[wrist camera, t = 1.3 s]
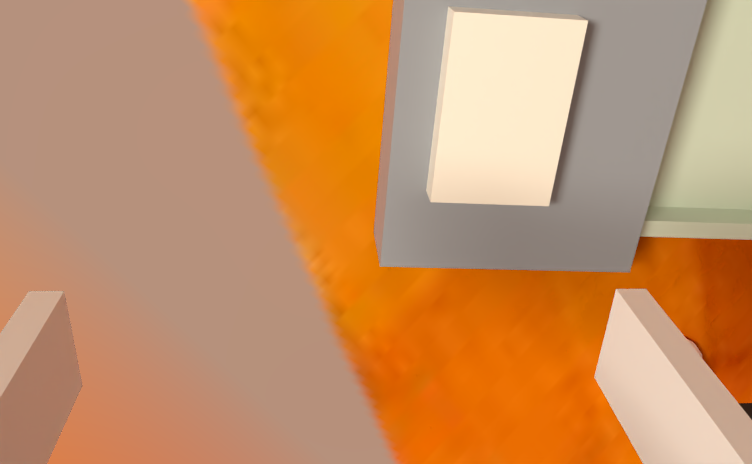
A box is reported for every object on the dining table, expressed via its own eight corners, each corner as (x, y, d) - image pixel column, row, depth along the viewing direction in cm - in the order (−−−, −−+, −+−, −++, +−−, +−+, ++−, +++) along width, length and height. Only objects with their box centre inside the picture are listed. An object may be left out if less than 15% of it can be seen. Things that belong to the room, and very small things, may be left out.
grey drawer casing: (402, -111, 32) (414, -110, 28) (686, -87, 33) (730, -83, 30) (373, 232, 40) (380, 266, 36) (602, 238, 41) (629, 272, 38)
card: (448, 6, 30) (454, 11, 29) (577, 14, 31) (588, 20, 30) (426, 190, 34) (430, 202, 33) (540, 194, 35) (549, 206, 34)
